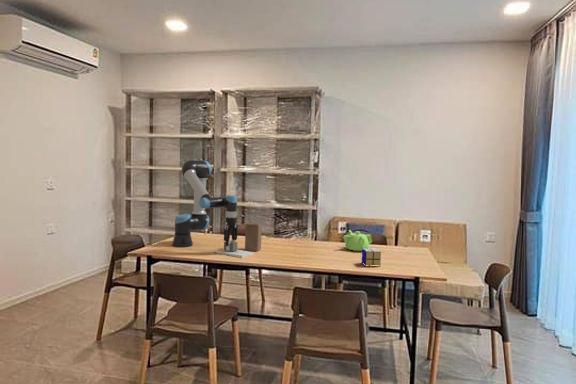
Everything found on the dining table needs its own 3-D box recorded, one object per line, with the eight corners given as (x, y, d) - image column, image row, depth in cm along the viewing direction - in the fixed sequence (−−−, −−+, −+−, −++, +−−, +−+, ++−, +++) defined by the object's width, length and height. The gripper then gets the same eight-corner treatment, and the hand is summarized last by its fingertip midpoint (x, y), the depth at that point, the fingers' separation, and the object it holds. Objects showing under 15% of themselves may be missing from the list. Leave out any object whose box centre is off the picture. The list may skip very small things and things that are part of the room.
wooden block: (257, 251, 314) (258, 224, 313) (244, 250, 316) (245, 223, 315) (261, 249, 324) (262, 222, 323) (248, 248, 326) (249, 222, 325)
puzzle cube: (361, 263, 291) (362, 248, 290) (375, 263, 292) (376, 248, 291) (365, 266, 281) (366, 251, 280) (380, 266, 282) (381, 251, 281)
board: (216, 253, 304) (216, 251, 304) (228, 250, 316) (228, 248, 316) (241, 257, 293) (242, 255, 293) (253, 254, 305) (253, 252, 305)
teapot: (364, 253, 323) (365, 234, 322) (339, 250, 332) (340, 231, 331) (372, 249, 339) (373, 231, 338) (348, 246, 349) (349, 228, 348)
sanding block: (223, 250, 306) (224, 241, 306) (228, 249, 311) (228, 241, 310) (232, 251, 302) (233, 243, 302) (237, 250, 306) (237, 242, 306)
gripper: (227, 218, 295) (226, 252, 297) (243, 216, 311) (242, 248, 312) (218, 217, 299) (218, 251, 301) (234, 215, 315) (233, 247, 316)
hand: (230, 249), depth 307 cm, fingers closed on sanding block, 5 cm apart
